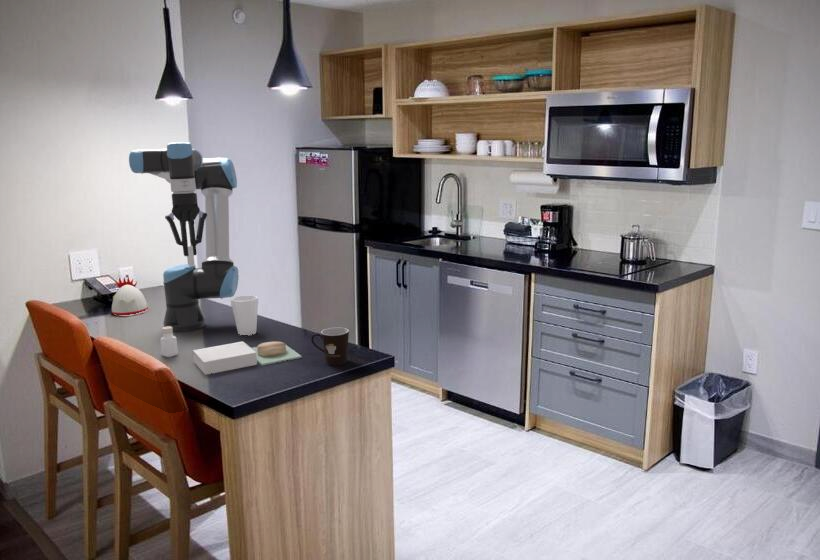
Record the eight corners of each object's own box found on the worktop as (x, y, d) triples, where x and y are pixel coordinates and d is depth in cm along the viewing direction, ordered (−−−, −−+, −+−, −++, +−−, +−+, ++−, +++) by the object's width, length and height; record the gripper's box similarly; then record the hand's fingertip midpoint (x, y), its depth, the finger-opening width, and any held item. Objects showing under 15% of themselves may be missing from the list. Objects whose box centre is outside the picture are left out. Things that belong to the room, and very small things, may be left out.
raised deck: (194, 362, 216) (193, 350, 215) (243, 352, 223) (242, 341, 223) (205, 374, 204) (204, 362, 203) (257, 364, 212) (256, 352, 211)
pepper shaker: (172, 352, 226) (169, 325, 224) (178, 354, 224) (176, 327, 222) (161, 355, 223) (158, 328, 221) (168, 358, 221) (164, 330, 219)
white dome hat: (114, 310, 286) (109, 275, 283) (149, 306, 290) (145, 272, 287) (110, 318, 273) (105, 281, 270) (147, 314, 277) (142, 278, 274)
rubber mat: (244, 350, 226) (244, 349, 225) (282, 343, 232) (282, 342, 232) (262, 365, 210) (262, 363, 210) (301, 357, 217) (301, 355, 217)
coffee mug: (356, 361, 212) (354, 330, 210) (335, 368, 206) (333, 337, 203) (331, 354, 219) (329, 324, 217) (310, 361, 213) (308, 330, 211)
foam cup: (231, 332, 248) (228, 297, 245) (256, 328, 252) (253, 294, 249) (237, 338, 240) (234, 302, 237) (263, 334, 244) (260, 299, 241)
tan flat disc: (254, 351, 223) (253, 344, 222) (281, 346, 227) (280, 340, 226) (262, 358, 215) (261, 351, 214) (289, 354, 219) (289, 346, 218)
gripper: (164, 194, 208) (172, 270, 213) (207, 191, 214) (214, 265, 219) (160, 193, 214) (168, 266, 219) (201, 190, 220) (208, 261, 225)
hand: (191, 265), depth 219 cm, fingers closed
